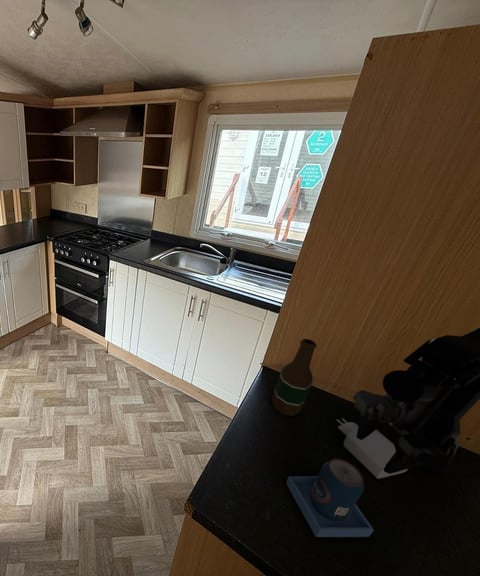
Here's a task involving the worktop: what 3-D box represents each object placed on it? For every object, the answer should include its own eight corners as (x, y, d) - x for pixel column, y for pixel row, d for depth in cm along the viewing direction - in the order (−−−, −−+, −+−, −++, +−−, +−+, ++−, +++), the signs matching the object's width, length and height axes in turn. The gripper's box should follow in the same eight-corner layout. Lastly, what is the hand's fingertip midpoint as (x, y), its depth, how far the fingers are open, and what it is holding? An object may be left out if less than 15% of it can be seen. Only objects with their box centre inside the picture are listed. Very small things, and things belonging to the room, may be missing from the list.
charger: (349, 422, 89) (406, 472, 76) (322, 427, 87) (375, 479, 74) (356, 410, 87) (415, 459, 74) (328, 415, 85) (384, 467, 72)
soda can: (302, 487, 72) (319, 453, 66) (335, 493, 71) (354, 458, 66) (316, 520, 66) (336, 486, 60) (352, 526, 65) (375, 492, 59)
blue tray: (332, 483, 73) (336, 476, 72) (369, 537, 64) (374, 530, 62) (285, 483, 73) (288, 476, 72) (315, 537, 64) (319, 530, 62)
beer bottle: (265, 397, 97) (286, 334, 87) (288, 395, 98) (312, 332, 87) (281, 418, 90) (306, 351, 80) (306, 415, 91) (334, 349, 80)
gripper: (350, 360, 72) (314, 411, 77) (411, 413, 54) (359, 475, 59) (399, 378, 71) (360, 429, 76) (478, 438, 53) (420, 499, 58)
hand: (371, 454), depth 67 cm, fingers open, 9 cm apart
